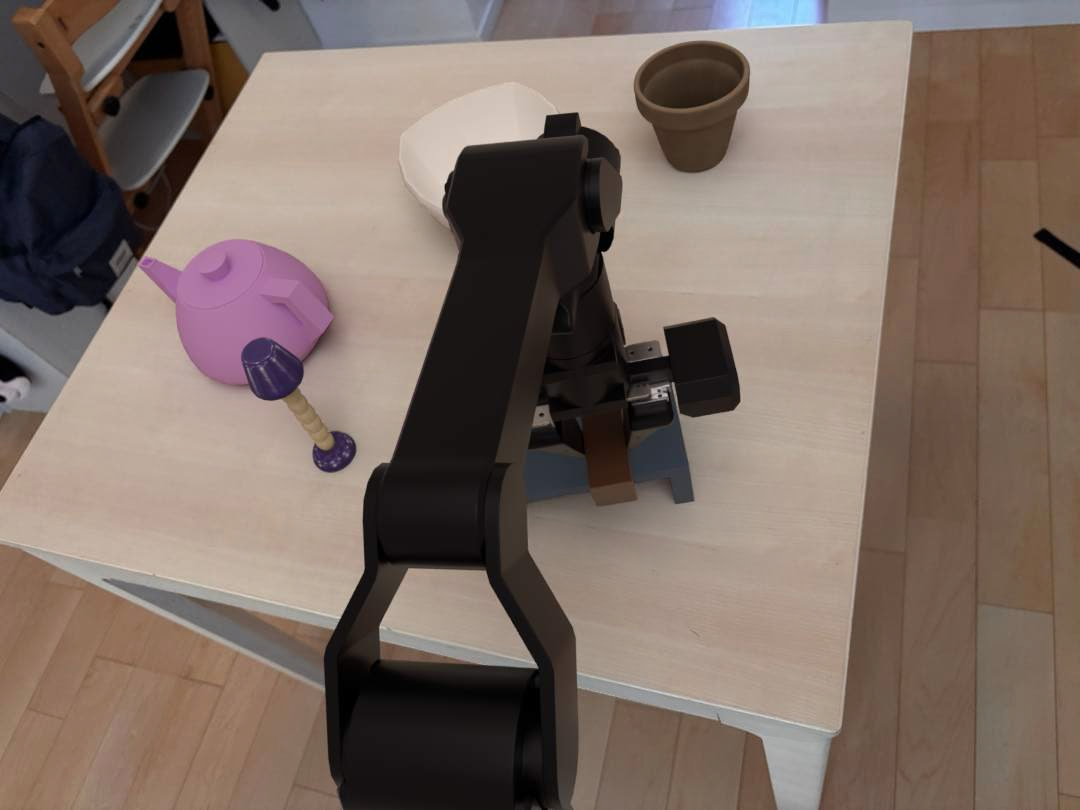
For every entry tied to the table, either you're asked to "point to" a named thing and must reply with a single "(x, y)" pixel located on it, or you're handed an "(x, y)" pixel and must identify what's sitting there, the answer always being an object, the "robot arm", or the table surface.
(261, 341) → the toy lamp
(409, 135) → the bowl
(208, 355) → the teapot
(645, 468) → the shelf
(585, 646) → the table surface
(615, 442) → the block
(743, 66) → the flower pot
